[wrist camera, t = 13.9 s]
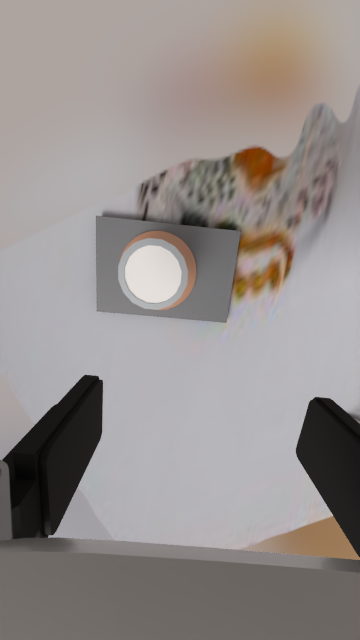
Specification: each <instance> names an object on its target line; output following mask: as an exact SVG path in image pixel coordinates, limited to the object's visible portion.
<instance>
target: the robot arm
mask: <svg viewBox="0 0 360 640" xmlns="http://www.w3.org/2000/svg"><path fill="white" fill-rule="evenodd" d="M102 403H103V381H102V380H99V377H98V376H91V375H84V376H83V377H82V378H81V379H80V380H79V381H78V382H77V383H76V384H75V386H74V387H73V388H72V389H71V390H70V391H69V392H68V393H67V394H66V395H65V396H64V397H63V398H62V400H61V401H60V402H59V403H58V404H56V405H54V406H53V407H52V408H51V409H50V410H49V411H48V412H47V413H46V414H45V415H44V416H43V417H42V418H41V419H40V420H39V422H38V423H37V424H36V425H35V426H34V427H33V428H32V429H31V430H30V431H29V432H28V433H27V434H26V435H25V436H24V437H23V438H22V440H21V441H20V442H19V443H18V444H17V445H16V446H15V447H14V448H13V449H12V450H11V451H10V452H9V453H8V454H7V456H6V457H5V458H4V459H3V460H0V640H360V560H351V559H340V558H339V559H338V558H328V557H317V556H304V555H293V554H281V553H269V552H256V551H244V550H232V549H219V548H207V547H193V546H180V545H167V544H153V543H140V542H127V541H111V540H92V539H73V538H48V535H53V534H54V533H55V532H56V530H57V528H58V526H59V524H60V522H61V520H62V518H63V516H64V514H65V512H66V510H67V508H68V506H69V503H70V501H71V499H72V497H73V495H74V493H75V491H76V489H77V487H78V485H79V483H80V481H81V478H82V476H83V474H84V472H85V470H86V468H87V466H88V464H89V462H90V460H91V458H92V455H93V453H94V451H95V449H96V447H97V445H98V443H99V441H100V438H101V434H102ZM296 454H297V457H298V459H299V461H300V462H301V464H302V466H303V467H304V469H305V471H306V472H307V474H308V475H309V477H310V479H311V480H312V482H313V483H314V485H315V487H316V488H317V490H318V492H319V493H320V495H321V496H322V498H323V500H324V501H325V503H326V504H327V506H328V508H329V509H330V511H331V513H332V514H333V516H334V517H335V519H336V521H337V522H338V524H339V525H340V527H341V529H342V530H343V532H344V533H345V535H346V537H347V538H348V540H349V541H350V543H351V545H352V546H353V548H354V550H355V551H356V553H357V554H358V556H359V557H360V420H358V419H356V418H353V417H351V416H350V415H349V414H348V413H347V412H346V411H344V410H343V409H342V408H341V407H340V406H339V405H337V404H336V403H335V402H334V401H333V400H331V399H329V398H320V397H315V398H314V399H313V400H311V401H310V402H309V405H308V409H307V412H306V416H305V419H304V423H303V426H302V430H301V433H300V437H299V440H298V444H297V447H296Z"/></svg>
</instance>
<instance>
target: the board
mask: <svg viewBox="0 0 360 640" xmlns="http://www.w3.org/2000/svg"><path fill="white" fill-rule="evenodd" d="M149 231H164V232H168V233H171V234H173V235H175V236H177V237H178V238H180V239H181V240H182V241H183V242H185V244H186V245H187V246H188V247H189V249H190V250H191V252H192V254H193V256H194V259H195V263H196V280H195V284H194V287H193V289H192V291H191V292H190V294H189V295H188V296H187V298H186V299H185V300H184V301H183V302H181V303H180V304H178V305H177V306H175V307H172V308H170V309H165V310H152V309H144V308H142V307H140V306H138V305H136V304H134V303H132V302H131V300H130V299H129V298H128V297H127V296H126V295H125V294H124V293H123V291H122V288H121V286H120V283H119V280H118V265H119V263H120V258H121V255H122V253H123V251H124V249H125V247H126V246H127V245H128V244H129V242H130V241H131V240H133V239H134V238H135V237H137V236H138V235H140V234H143V233H145V232H149ZM240 233H241V231H234V230H225V229H215V228H206V227H197V226H187V225H178V224H169V223H159V222H150V221H141V220H131V219H122V218H113V217H103V216H96V275H97V311H100V312H111V313H122V314H134V315H145V316H156V317H168V318H179V319H190V320H202V321H213V322H225V323H226V321H227V315H228V309H229V303H230V296H231V290H232V284H233V277H234V271H235V265H236V258H237V252H238V246H239V239H240Z"/></svg>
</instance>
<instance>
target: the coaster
mask: <svg viewBox="0 0 360 640" xmlns="http://www.w3.org/2000/svg"><path fill="white" fill-rule="evenodd" d="M146 238H153V239H162V240H164V241H166V242H168V243H170V244H172V245H173V246H175V247H176V248H177V250H178V251H179V252H180V253H181V254H182V256H183V257H184V259H185V262H186V266H187V269H188V279H187V286H186V288H185V290H184V292H183V294H182V296H181V297H180V298H179V299H178V300H177V301H176V302H174V303H173V304H172V305H171V306H168V307H165V308H162V309H159V310H165V309H170V308H172V307H175V306H177V305H178V304H180V303H181V302H183V301H184V300H185V299H186V298H187V296H188V295H189V294H190V292H191V291H192V289H193V287H194V284H195V280H196V263H195V259H194V256H193V254H192V252H191V250H190V249H189V247H188V246H187V245H186V244H185V242H183V241H182V240H181V239H180V238H178V237H177V236H175V235H173V234H171V233H168V232H164V231H149V232H145V233H143V234H140V235H138V236H137V237H135V238H134V239H133V240H131V241H130V242H129V244H128V245H127V246H126V247H125V249H124V251H123V253H124V252H125V251H126V250H127V249H128V248H129V247H130V246H131V245H132V244H133V243H135V242H138V241H140V240H143V239H146ZM123 253H122V255H123ZM122 255H121V258H122ZM121 258H120V260H121ZM152 310H154V309H152Z"/></svg>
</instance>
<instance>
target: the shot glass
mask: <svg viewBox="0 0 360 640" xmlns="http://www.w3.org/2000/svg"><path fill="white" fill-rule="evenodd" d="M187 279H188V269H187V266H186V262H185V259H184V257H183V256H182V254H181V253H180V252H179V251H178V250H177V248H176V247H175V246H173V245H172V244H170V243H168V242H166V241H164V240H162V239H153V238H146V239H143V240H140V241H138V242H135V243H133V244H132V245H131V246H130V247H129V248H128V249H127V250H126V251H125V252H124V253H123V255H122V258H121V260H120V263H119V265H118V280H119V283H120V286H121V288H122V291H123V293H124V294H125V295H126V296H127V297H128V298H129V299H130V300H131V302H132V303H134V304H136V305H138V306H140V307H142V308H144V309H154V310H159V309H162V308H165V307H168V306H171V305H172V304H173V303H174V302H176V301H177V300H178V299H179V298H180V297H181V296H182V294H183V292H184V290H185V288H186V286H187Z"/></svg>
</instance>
